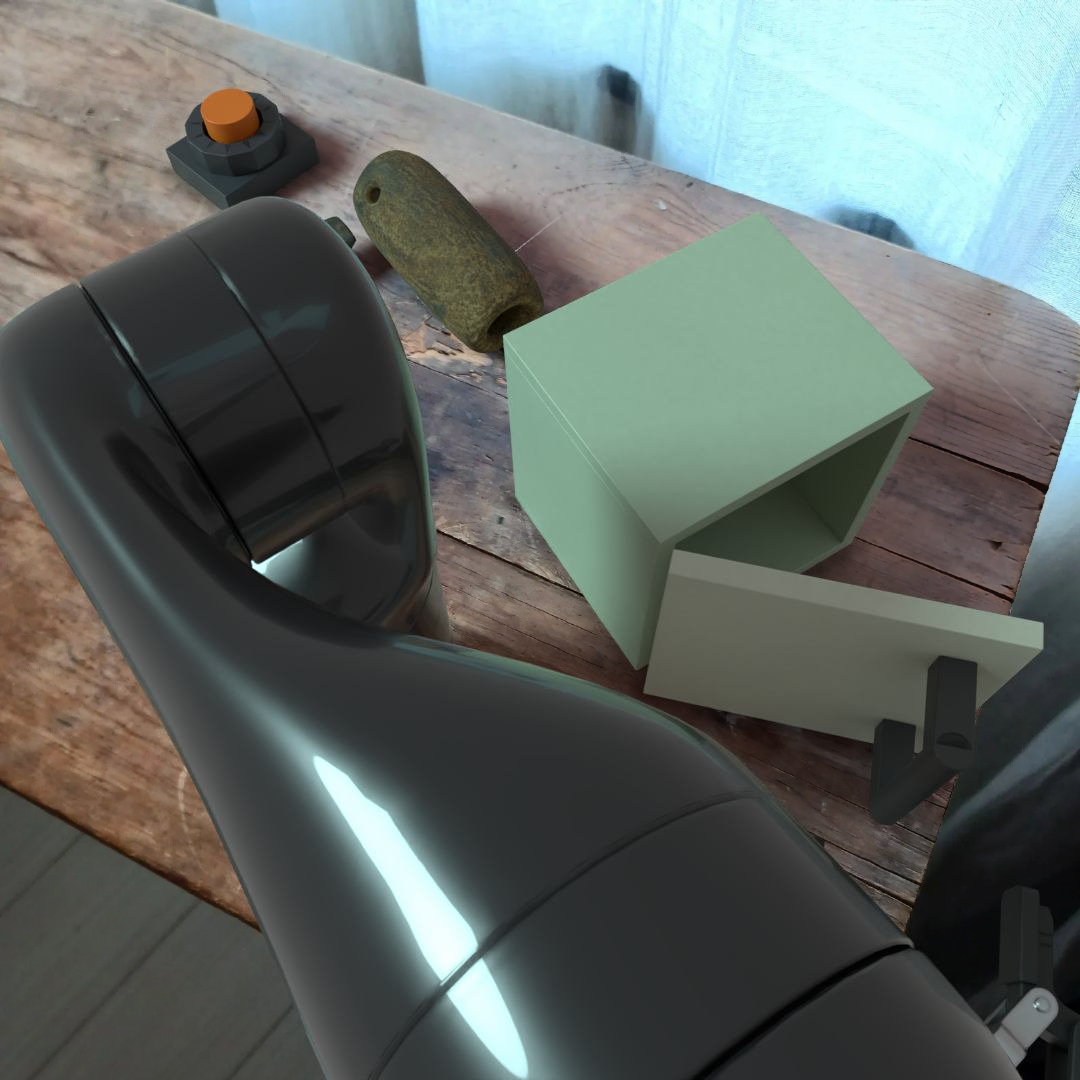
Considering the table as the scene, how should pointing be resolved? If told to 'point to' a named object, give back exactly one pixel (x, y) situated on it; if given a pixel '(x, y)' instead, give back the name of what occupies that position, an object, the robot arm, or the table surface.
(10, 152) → the table surface
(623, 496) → the pale green box
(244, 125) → the button
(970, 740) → the door
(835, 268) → the table surface
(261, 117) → the control block
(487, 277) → the stone weight
